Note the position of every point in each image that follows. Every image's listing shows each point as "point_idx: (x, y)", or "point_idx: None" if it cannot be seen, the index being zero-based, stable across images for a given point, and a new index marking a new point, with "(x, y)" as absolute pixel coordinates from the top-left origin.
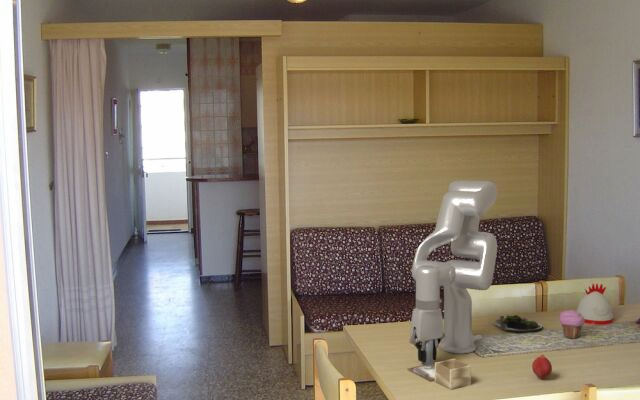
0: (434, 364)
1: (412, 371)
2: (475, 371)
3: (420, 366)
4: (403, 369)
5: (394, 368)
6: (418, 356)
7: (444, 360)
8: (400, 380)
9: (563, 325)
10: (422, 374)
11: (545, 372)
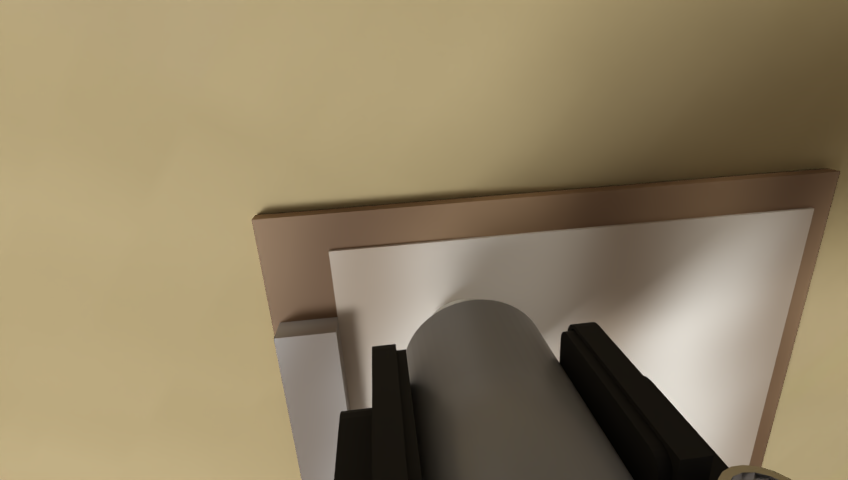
0: (621, 245)
1: (271, 315)
2: (793, 477)
3: (442, 226)
4: (215, 181)
5: (107, 94)
6: (339, 442)
7: (815, 172)
8: (47, 440)
9: None
10: (302, 468)
11: None
